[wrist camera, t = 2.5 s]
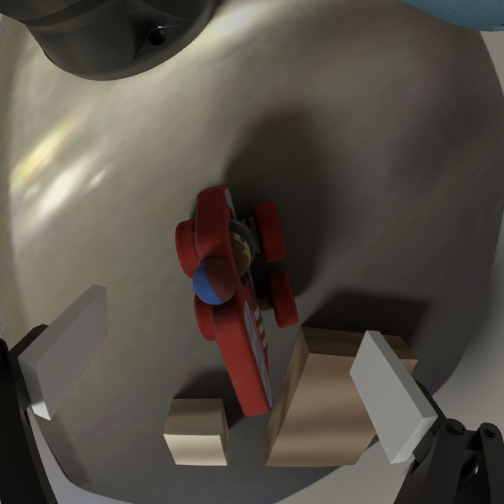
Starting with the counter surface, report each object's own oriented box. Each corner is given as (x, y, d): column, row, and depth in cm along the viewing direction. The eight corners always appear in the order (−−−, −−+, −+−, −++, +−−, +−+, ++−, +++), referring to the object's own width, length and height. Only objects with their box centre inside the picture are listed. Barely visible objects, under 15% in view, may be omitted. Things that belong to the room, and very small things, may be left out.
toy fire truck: (267, 172, 22) (287, 183, 12) (296, 323, 25) (322, 411, 16) (174, 194, 22) (121, 223, 12) (215, 339, 26) (203, 431, 16)
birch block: (172, 398, 28) (163, 434, 23) (222, 397, 28) (219, 435, 23) (183, 429, 29) (176, 464, 24) (228, 429, 29) (226, 465, 24)
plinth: (300, 325, 25) (309, 353, 22) (399, 336, 26) (418, 359, 22) (263, 437, 30) (265, 465, 26) (346, 439, 30) (354, 464, 27)
